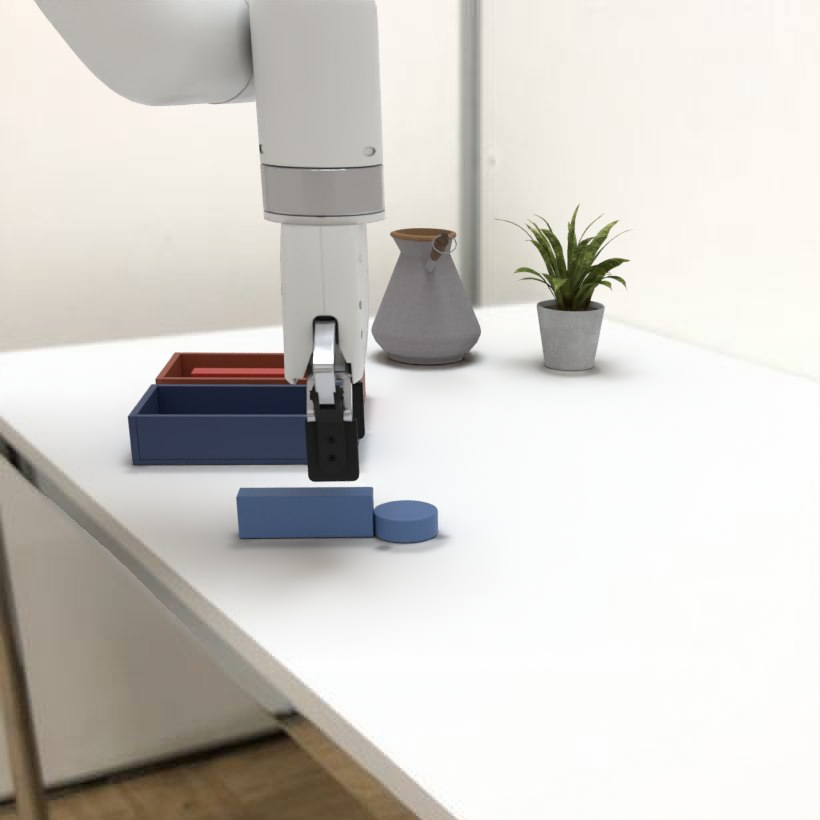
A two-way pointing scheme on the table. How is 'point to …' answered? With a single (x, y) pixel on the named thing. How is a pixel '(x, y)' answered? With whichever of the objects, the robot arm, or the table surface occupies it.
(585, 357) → the house plant
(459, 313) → the coffee pot
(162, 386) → the blue bin
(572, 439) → the table surface
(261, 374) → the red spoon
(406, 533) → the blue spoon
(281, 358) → the red bin
